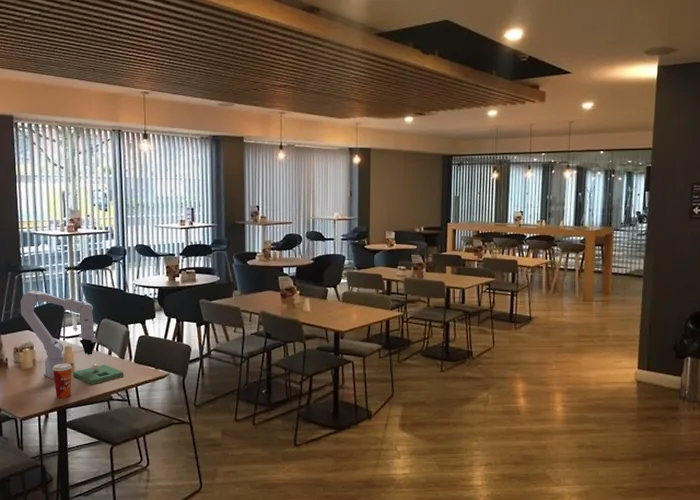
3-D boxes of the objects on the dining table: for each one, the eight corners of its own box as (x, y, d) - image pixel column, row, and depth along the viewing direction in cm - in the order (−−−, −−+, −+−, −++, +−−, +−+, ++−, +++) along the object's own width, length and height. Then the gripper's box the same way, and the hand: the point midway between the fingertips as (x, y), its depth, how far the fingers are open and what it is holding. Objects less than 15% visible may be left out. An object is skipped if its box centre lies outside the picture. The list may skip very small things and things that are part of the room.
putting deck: (73, 375, 286) (73, 372, 286) (105, 368, 298) (104, 364, 298) (91, 384, 274) (91, 380, 273) (123, 376, 286) (123, 372, 285)
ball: (90, 371, 287) (90, 364, 287) (97, 369, 290) (97, 362, 289) (94, 372, 285) (93, 365, 284) (101, 370, 287) (100, 364, 287)
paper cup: (65, 399, 254) (63, 368, 253) (50, 398, 256) (48, 367, 254) (77, 393, 262) (75, 363, 260) (62, 392, 263) (60, 362, 262)
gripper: (102, 328, 288) (103, 354, 289) (88, 323, 297) (89, 349, 299) (87, 330, 282) (89, 357, 284) (74, 326, 292) (76, 352, 293)
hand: (88, 353), depth 291 cm, fingers closed
